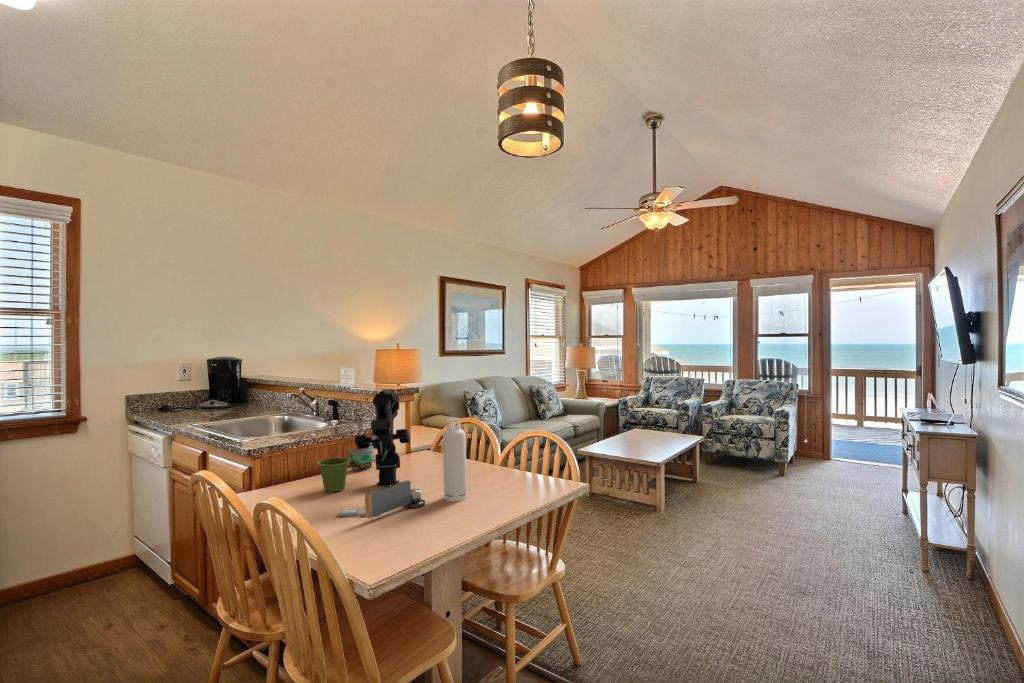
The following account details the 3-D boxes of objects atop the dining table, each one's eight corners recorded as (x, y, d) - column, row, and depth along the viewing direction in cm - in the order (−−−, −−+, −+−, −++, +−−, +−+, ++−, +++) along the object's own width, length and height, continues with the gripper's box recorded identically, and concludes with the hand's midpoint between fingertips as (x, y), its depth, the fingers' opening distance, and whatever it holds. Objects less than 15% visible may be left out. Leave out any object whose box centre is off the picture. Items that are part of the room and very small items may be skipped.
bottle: (444, 502, 172) (442, 421, 172) (443, 495, 180) (442, 418, 180) (467, 500, 174) (465, 420, 174) (466, 493, 182) (464, 417, 182)
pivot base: (413, 500, 175) (413, 497, 175) (429, 503, 172) (429, 500, 172) (400, 506, 169) (400, 503, 169) (416, 509, 166) (416, 506, 166)
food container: (358, 473, 213) (357, 450, 213) (348, 471, 217) (348, 448, 217) (380, 467, 224) (379, 444, 224) (371, 465, 227) (370, 443, 227)
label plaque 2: (362, 512, 164) (362, 509, 164) (381, 511, 165) (381, 507, 165) (361, 516, 160) (360, 513, 160) (380, 515, 161) (380, 511, 161)
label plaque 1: (340, 513, 164) (340, 509, 164) (359, 511, 165) (359, 508, 165) (338, 517, 160) (338, 513, 160) (358, 515, 161) (357, 512, 161)
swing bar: (415, 498, 173) (414, 476, 173) (423, 500, 171) (422, 478, 171) (363, 517, 156) (362, 492, 156) (371, 519, 153) (370, 495, 153)
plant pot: (313, 495, 184) (312, 465, 184) (324, 486, 196) (324, 457, 196) (345, 494, 184) (344, 464, 184) (355, 485, 196) (354, 456, 196)
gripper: (351, 413, 177) (347, 452, 167) (404, 406, 178) (403, 445, 167) (360, 429, 185) (357, 468, 175) (410, 422, 186) (410, 460, 176)
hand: (381, 460), depth 173 cm, fingers closed
